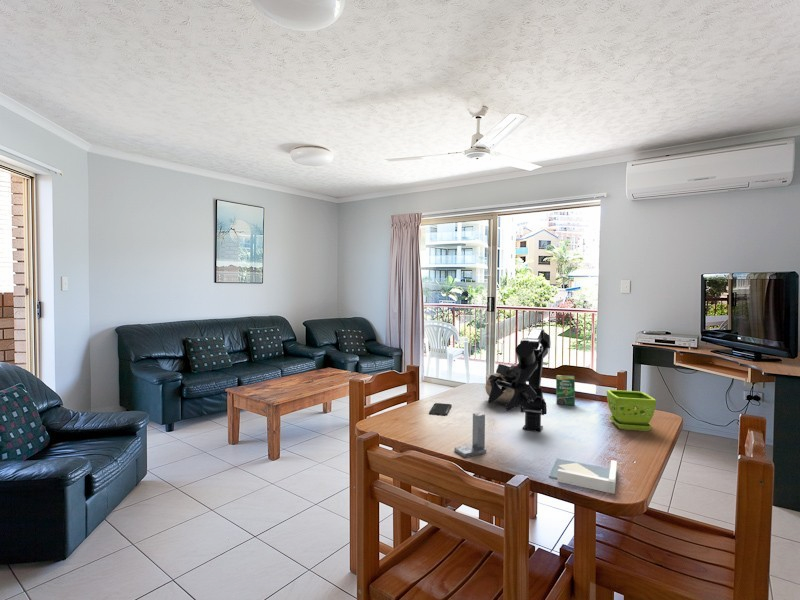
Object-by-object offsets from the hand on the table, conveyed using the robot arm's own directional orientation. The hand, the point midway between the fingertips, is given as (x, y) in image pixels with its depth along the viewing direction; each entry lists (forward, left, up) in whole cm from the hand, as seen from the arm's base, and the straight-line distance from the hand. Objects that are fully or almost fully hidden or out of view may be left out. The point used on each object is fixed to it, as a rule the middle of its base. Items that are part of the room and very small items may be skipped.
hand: (497, 406), depth 140 cm
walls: (+9, +29, -13) cm, 33 cm away
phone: (-30, -33, -14) cm, 47 cm away
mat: (+8, +27, -13) cm, 31 cm away
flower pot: (-46, +39, -14) cm, 62 cm away
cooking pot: (-55, -11, -14) cm, 58 cm away
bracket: (+9, -6, -14) cm, 17 cm away
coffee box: (-67, +13, -14) cm, 69 cm away
